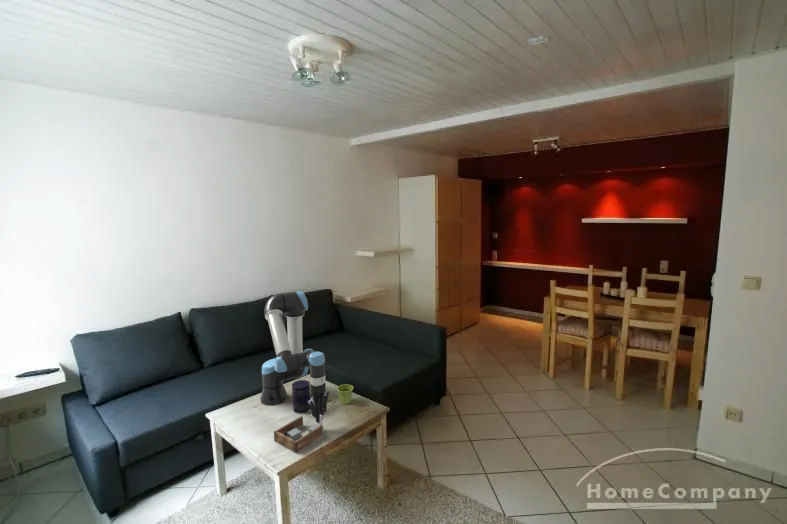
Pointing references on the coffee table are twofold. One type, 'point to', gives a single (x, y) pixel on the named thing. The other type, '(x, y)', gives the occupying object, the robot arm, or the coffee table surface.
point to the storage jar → (301, 396)
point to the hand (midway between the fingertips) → (319, 427)
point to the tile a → (294, 434)
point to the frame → (300, 443)
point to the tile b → (312, 428)
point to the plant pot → (345, 393)
